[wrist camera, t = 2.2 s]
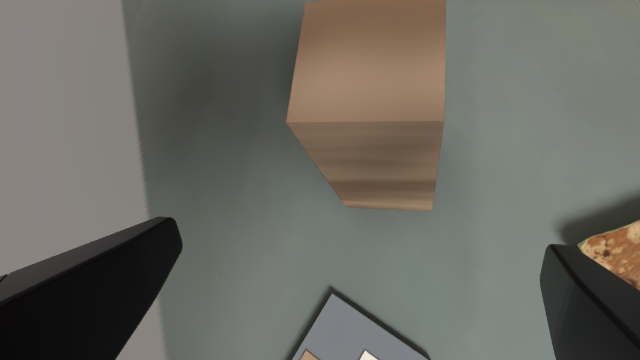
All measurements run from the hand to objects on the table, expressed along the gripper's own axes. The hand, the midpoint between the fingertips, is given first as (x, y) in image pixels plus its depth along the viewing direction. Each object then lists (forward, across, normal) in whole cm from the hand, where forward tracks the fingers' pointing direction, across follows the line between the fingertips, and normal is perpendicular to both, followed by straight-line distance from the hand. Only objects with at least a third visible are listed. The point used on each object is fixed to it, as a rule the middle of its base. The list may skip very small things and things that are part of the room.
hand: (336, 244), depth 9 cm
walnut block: (+14, 0, +4) cm, 14 cm away
